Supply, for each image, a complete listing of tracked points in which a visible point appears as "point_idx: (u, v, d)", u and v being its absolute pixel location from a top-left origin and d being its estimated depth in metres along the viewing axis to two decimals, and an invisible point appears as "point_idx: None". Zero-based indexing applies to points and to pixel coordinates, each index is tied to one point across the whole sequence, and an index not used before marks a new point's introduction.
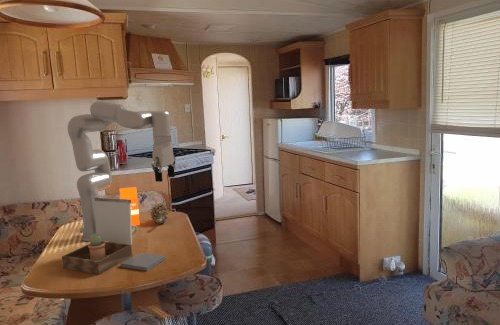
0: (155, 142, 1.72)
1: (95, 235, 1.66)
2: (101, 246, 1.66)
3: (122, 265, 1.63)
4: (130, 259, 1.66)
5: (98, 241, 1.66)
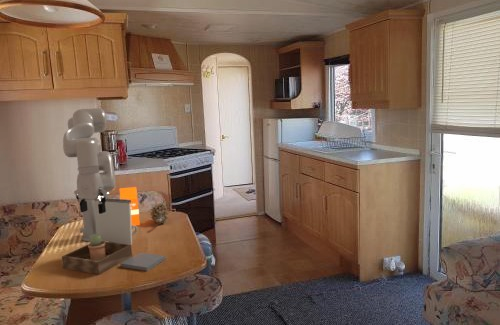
0: (93, 172, 1.60)
1: (95, 235, 1.66)
2: (101, 246, 1.66)
3: (122, 265, 1.63)
4: (130, 259, 1.66)
5: (98, 241, 1.66)
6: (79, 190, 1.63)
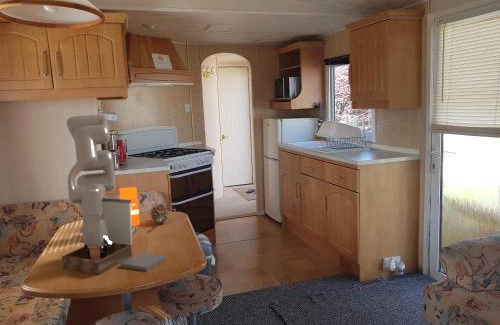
0: (98, 220, 1.64)
1: None
2: None
3: (122, 265, 1.63)
4: (130, 259, 1.66)
5: None
6: (84, 237, 1.66)
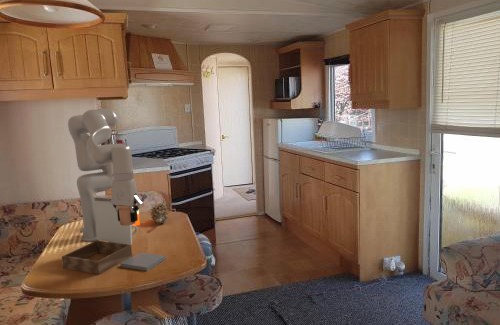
0: (128, 179, 1.59)
1: None
2: None
3: (122, 265, 1.63)
4: (130, 259, 1.66)
5: None
6: (114, 196, 1.61)
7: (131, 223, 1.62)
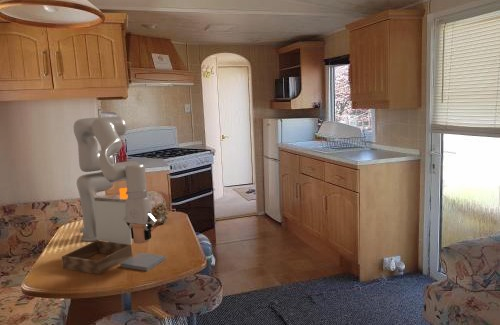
0: (142, 197, 1.59)
1: None
2: None
3: (122, 265, 1.63)
4: (130, 259, 1.66)
5: None
6: (128, 214, 1.61)
7: (145, 241, 1.62)
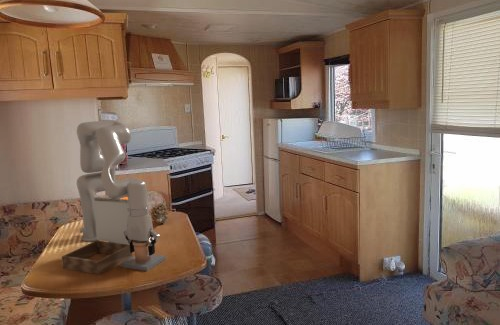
0: (144, 214, 1.60)
1: None
2: (146, 243, 1.63)
3: (122, 265, 1.63)
4: (130, 259, 1.66)
5: None
6: (129, 231, 1.63)
7: (146, 260, 1.64)
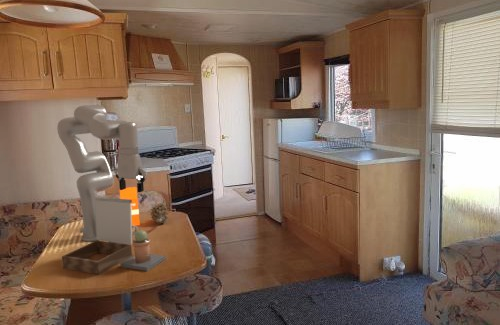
0: (133, 153, 1.70)
1: (140, 232, 1.63)
2: (146, 243, 1.63)
3: (122, 265, 1.63)
4: (130, 259, 1.66)
5: (143, 238, 1.63)
6: (119, 169, 1.73)
7: (146, 260, 1.64)
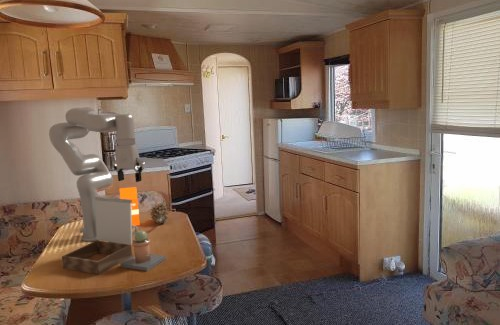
0: (131, 144, 1.76)
1: (140, 232, 1.63)
2: (146, 243, 1.63)
3: (122, 265, 1.63)
4: (130, 259, 1.66)
5: (143, 238, 1.63)
6: (117, 160, 1.78)
7: (146, 260, 1.64)
